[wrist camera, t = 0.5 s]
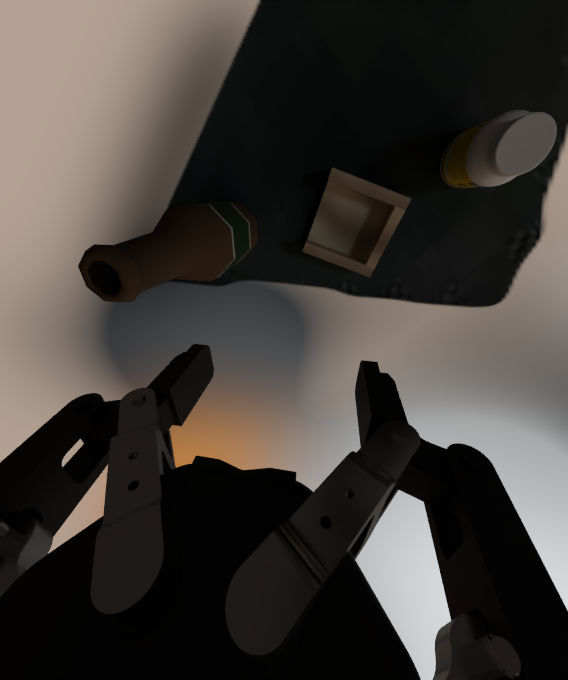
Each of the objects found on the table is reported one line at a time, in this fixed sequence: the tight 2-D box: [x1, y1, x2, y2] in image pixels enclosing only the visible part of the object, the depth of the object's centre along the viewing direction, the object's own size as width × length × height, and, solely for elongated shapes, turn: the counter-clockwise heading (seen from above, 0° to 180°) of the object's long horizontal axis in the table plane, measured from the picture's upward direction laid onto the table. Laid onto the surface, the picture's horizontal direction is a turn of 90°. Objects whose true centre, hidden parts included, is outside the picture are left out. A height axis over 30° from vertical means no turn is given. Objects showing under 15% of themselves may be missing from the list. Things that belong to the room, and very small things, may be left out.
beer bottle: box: [78, 202, 258, 302], centre depth 25 cm, size 8×8×24 cm
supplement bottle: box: [440, 110, 557, 188], centre depth 23 cm, size 5×5×10 cm
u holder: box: [303, 168, 412, 277], centre depth 31 cm, size 9×9×4 cm
